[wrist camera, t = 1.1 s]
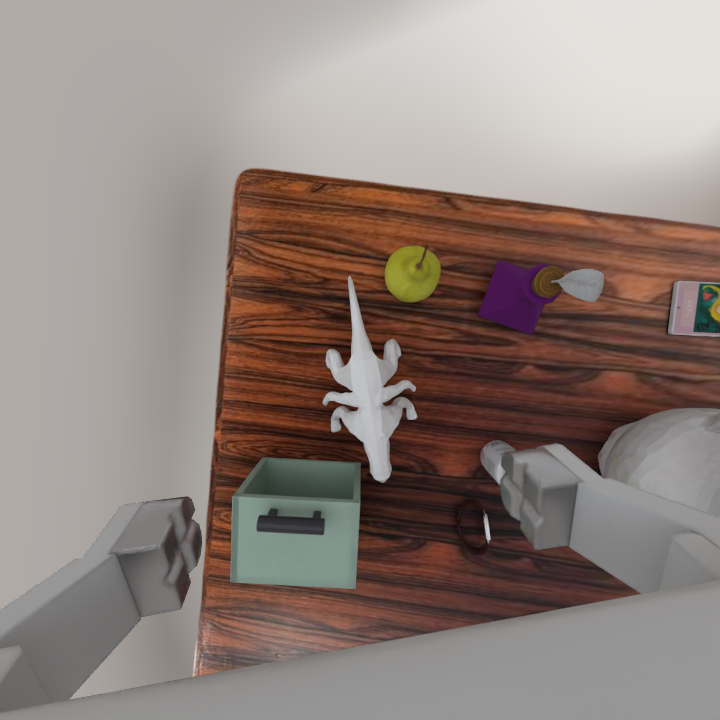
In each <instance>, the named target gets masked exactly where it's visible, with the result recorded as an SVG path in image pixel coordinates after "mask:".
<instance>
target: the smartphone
mask: <svg viewBox="0 0 720 720" xmlns="http://www.w3.org/2000/svg"><path fill="white" fill-rule="evenodd" d="M668 333H669V334H675V335H689V336H710V337H720V283H713V282H692V281H676V282H675V283H674V288H673V296H672V303H671V311H670V319H669V327H668Z"/></svg>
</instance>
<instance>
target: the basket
mask: <svg viewBox="0 0 720 720" xmlns="http://www.w3.org/2000/svg"><path fill="white" fill-rule="evenodd" d="M360 482H361V463H360V462H341V461H323V460H305V459H287V458H268V457H262V459H261V460H260V461H259V463H258V464H257V465H256V467H255V468H254V469H253V470H252V472H251V473H250V474H249V476H248V477H247V478H246V480H245V481H244V482H243V484H242V485H241V486H240V487H239V489H238V490H237V491H236V493H235V494H234V495H233V497H232V539H231V582H238V583H256V584H275V585H293V586H311V587H329V588H347V589H355V588H356V570H357V553H358V535H359V517H360Z"/></svg>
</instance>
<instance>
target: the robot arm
mask: <svg viewBox="0 0 720 720" xmlns="http://www.w3.org/2000/svg"><path fill="white" fill-rule="evenodd" d="M501 467H502V468H503V469H504V470H505V471H506V472H505V474H504V475H503V476H502V478H501V479H500V493H501V498H502V501H503V504H504V506H505V508H506V510H507V511H508V513H509V514H510V515H511V516H512V517H514V518H516V519H518V520H519V521H521V525H520V529H521V531H522V532H523V534H524V535H525V536H526V538H527V539H528V540H529V542H530V543H531V545H532V546H533V547H534V549H535V550H538V549H546V548H553V547H560V546H568V545H569V547H570V548H571V549H573V550H574V551H576V552H577V553H579V554H580V555H582V556H584V557H585V558H587V559H588V560H590V561H591V562H593V563H594V564H596V565H598V566H599V567H601V568H602V569H604V570H605V571H607V572H608V573H610V574H611V575H613V576H615V577H616V578H618V579H619V580H621V581H622V582H624V583H625V584H627V585H629V586H630V587H632V588H633V589H635V590H636V591H638V592H639V593H641V594H639V595H634V596H629V597H623V598H618V599H612V600H607V601H601V602H596V603H591V604H585V605H580V606H574V607H569V608H563V609H558V610H553V611H547V612H542V613H536V614H531V615H526V616H520V617H515V618H509V619H504V620H498V621H493V622H488V623H482V624H477V625H471V626H466V627H461V628H455V629H450V630H444V631H439V632H433V633H428V634H423V635H417V636H412V637H406V638H401V639H395V640H390V641H385V642H379V643H374V644H368V645H363V646H357V647H352V648H347V649H341V650H336V651H330V652H325V653H320V654H314V655H309V656H303V657H298V658H293V659H287V660H282V661H276V662H271V663H266V664H260V665H255V666H249V667H244V668H239V669H233V670H228V671H222V672H217V673H212V674H206V675H201V676H196V677H191V678H185V679H180V680H174V681H169V682H163V683H158V684H153V685H147V686H141V687H136V688H130V689H125V690H120V691H115V692H109V693H103V694H98V695H92V696H87V697H82V698H76V699H71V700H69V699H70V698H71V697H72V695H73V694H74V693H75V692H76V691H77V690H78V689H79V688H80V686H81V685H82V684H83V683H84V682H85V681H86V680H87V679H88V677H90V675H91V674H92V673H93V672H94V671H95V670H96V669H97V668H98V667H99V665H100V664H101V663H102V662H103V661H104V660H105V659H106V658H107V656H108V655H109V654H110V653H111V652H112V651H113V650H114V649H115V648H116V647H117V645H118V644H119V643H120V642H121V641H122V640H123V639H124V637H126V635H127V634H128V633H129V632H130V631H131V630H132V629H133V628H134V627H135V625H136V624H137V623H138V622H139V621H140V620H141V618H140V617H145V616H150V615H155V614H160V613H164V612H170V611H175V610H180V609H181V608H182V604H183V602H184V600H185V596H186V594H187V591H188V589H189V586H190V583H191V581H190V578H189V572H191V571H192V570H193V569H194V568H195V567H196V566H197V564H198V561H199V558H200V555H201V547H202V536H201V530H200V526H199V524H198V523H196V522H195V521H194V520H192V519H191V518H192V516H193V513H194V511H195V508H194V505H193V502H192V499H190V498H189V497H180V498H171V499H163V500H154V501H147V502H139V503H132V504H125V505H124V506H121V507H120V508H119V509H118V510H117V512H116V513H115V514H114V516H113V517H112V519H111V520H110V521H109V523H108V524H107V526H106V527H105V528H104V529H103V531H102V532H101V533H100V535H99V536H98V538H97V539H96V540H95V542H94V543H93V544H92V546H91V547H90V548H89V550H88V551H87V553H86V554H85V555H84V557H83V558H80V559H75V560H73V561H72V562H70V563H69V564H67V565H66V566H64V567H63V568H62V569H60V570H58V571H57V572H56V573H54V574H53V575H51V576H50V577H48V578H47V579H45V580H44V581H42V582H41V583H39V584H38V585H36V586H35V587H33V588H32V589H30V590H29V591H27V592H26V593H25V594H23V595H22V596H20V597H19V598H17V599H16V600H14V601H13V602H11V603H10V604H8V605H7V606H5V607H4V608H2V609H1V610H0V720H720V517H718V516H715V515H712V514H710V513H707V512H704V511H701V510H698V509H695V508H693V507H690V506H687V505H684V504H681V503H679V502H676V501H673V500H670V499H667V498H664V497H662V496H659V495H656V494H653V493H650V492H647V491H645V490H642V489H639V488H636V487H633V486H631V485H628V484H625V483H622V482H619V481H616V480H614V479H611V478H607V479H603V478H602V477H601V476H600V475H598V474H597V473H596V472H595V471H594V470H592V469H591V468H590V467H589V466H587V465H586V464H585V463H584V462H583V461H581V460H580V459H579V458H578V457H576V456H575V455H574V454H573V453H571V452H570V451H569V450H568V449H567V448H565V447H564V446H563V445H560V444H557V443H556V444H551V445H545V446H539V447H536V448H530V449H523V450H516V451H509V452H504V453H503V455H502V457H501Z"/></svg>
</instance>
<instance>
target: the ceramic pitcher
mask: <svg viewBox="0 0 720 720" xmlns="http://www.w3.org/2000/svg"><path fill="white" fill-rule="evenodd" d="M597 457H598V461H599V467H600V471H601V475H602V478H603V479H607V478H611V479H614V480H616V481H619V482H622V483H625V484H628V485H631V486H633V487H636V488H639V489H642V490H645V491H647V492H650V493H653V494H656V495H659V496H662V497H664V498H667V499H670V500H673V501H676V502H679V503H681V504H684V505H687V506H690V507H693V508H695V509H698V510H701V511H704V512H707V513H710V514H712V515H715V516H718V517H720V409H713V408H680V409H671V410H666V411H661V412H658V413H654V414H651V415H649V416H647V417H645V418H643V419H641V420H639V421H636V422H633V423H629V424H627V425H624V426H621V427H619V428H616V429H615V430H614V431H613V432H612V433H611V435H610V437H609V438H608V440H607V441H606V443H605V444H604V446H603V448H602V450H601V451H600V453H599V455H598V456H597Z"/></svg>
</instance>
